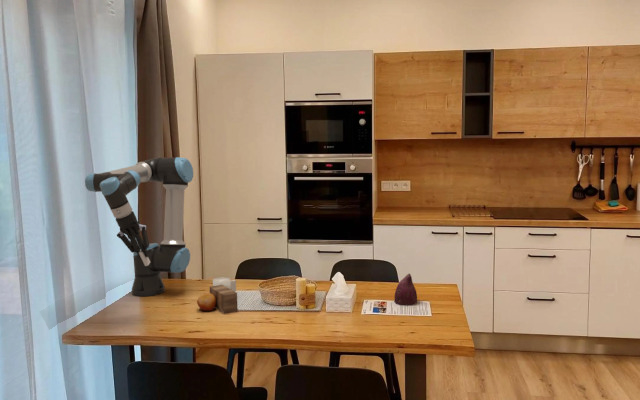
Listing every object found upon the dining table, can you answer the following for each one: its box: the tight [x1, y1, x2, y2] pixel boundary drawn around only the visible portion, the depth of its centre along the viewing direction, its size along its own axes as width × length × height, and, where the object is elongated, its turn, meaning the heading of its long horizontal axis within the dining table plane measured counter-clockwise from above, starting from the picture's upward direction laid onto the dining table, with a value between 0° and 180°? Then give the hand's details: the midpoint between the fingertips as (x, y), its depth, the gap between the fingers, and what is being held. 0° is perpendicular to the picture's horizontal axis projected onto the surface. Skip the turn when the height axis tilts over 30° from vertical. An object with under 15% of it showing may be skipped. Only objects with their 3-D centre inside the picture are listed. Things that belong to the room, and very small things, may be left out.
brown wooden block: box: [209, 285, 239, 314], centre depth 254 cm, size 16×6×8 cm, turn 32°
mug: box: [212, 276, 237, 292], centre depth 269 cm, size 8×11×9 cm
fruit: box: [196, 292, 216, 312], centre depth 253 cm, size 8×8×8 cm
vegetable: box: [393, 273, 418, 306], centre depth 256 cm, size 10×10×15 cm
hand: (147, 264), depth 244 cm, fingers closed
